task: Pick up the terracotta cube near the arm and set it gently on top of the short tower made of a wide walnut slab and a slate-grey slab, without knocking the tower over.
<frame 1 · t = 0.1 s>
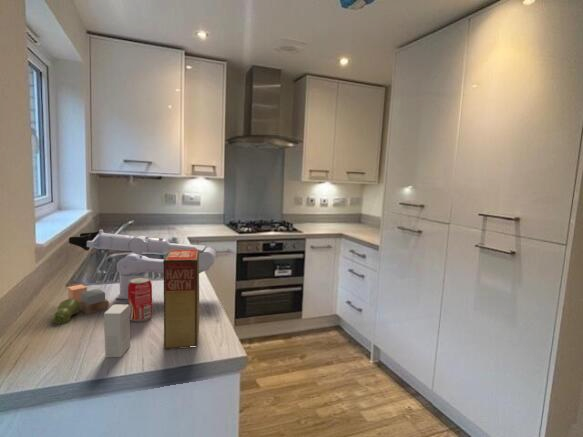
hand: (75, 238, 125), 22 cm above the worktop, tool horizontal, fingers open, 7 cm apart
walnut base: (93, 309, 118), on the worktop, touching slate block
soda can: (140, 318, 112), on the worktop
food packaging: (182, 337, 101), on the worktop
slate block: (93, 300, 117), point 2 cm above the worktop, touching walnut base
skincare box: (117, 352, 91), on the worktop
terracotta cube: (77, 299, 125), on the worktop
pear: (66, 318, 109), on the worktop
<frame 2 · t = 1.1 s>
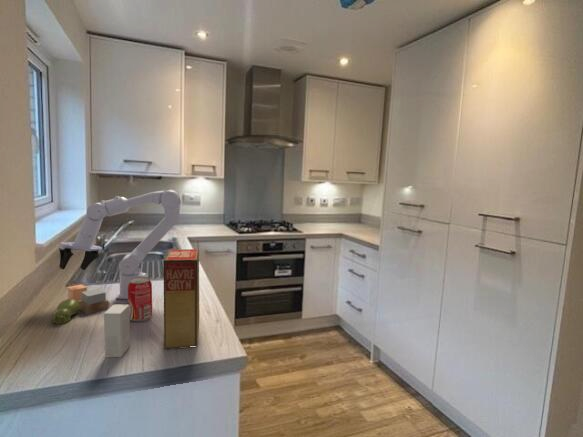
hand: (72, 268, 124), 11 cm above the worktop, tool tilted 20°, fingers open, 7 cm apart
walnut base: (93, 309, 118), on the worktop
slate block: (93, 300, 117), point 3 cm above the worktop
everything else where it was.
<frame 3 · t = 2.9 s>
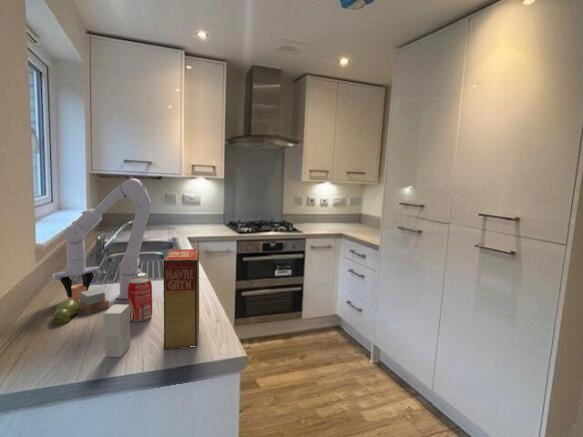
hand: (77, 295, 124), 1 cm above the worktop, tool pointing down, fingers closed on terracotta cube, 4 cm apart
walnut base: (93, 309, 118), on the worktop, touching slate block
slate block: (92, 300, 117), point 3 cm above the worktop, touching walnut base
terracotta cube: (77, 298, 125), on the worktop, touching gripper
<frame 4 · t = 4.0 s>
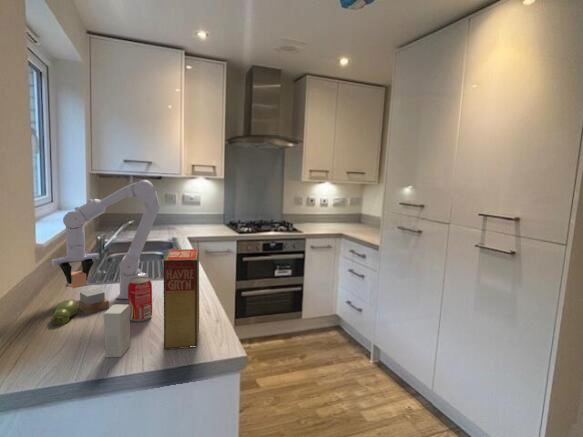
hand: (77, 281, 124), 7 cm above the worktop, tool pointing down, fingers closed on terracotta cube, 4 cm apart
terracotta cube: (77, 285, 124), point 5 cm above the worktop, touching gripper
everything else where it was.
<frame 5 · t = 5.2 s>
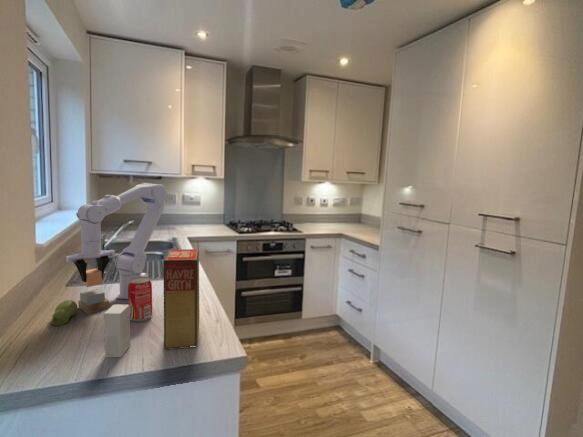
hand: (92, 279, 116), 10 cm above the worktop, tool pointing down, fingers closed on terracotta cube, 4 cm apart
walnut base: (93, 308, 118), on the worktop
slate block: (92, 301, 117), point 3 cm above the worktop
terracotta cube: (92, 283, 117), point 8 cm above the worktop, touching gripper
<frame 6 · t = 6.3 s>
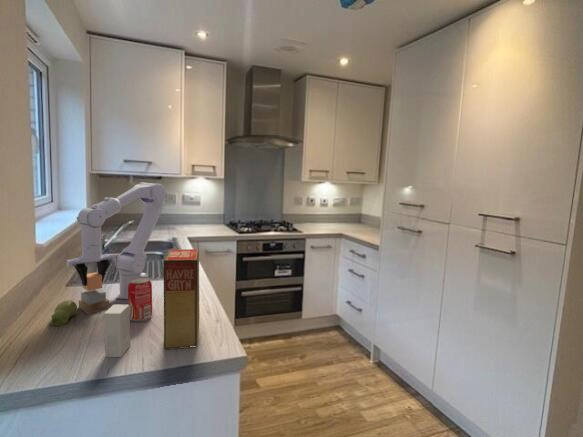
hand: (92, 283, 117), 9 cm above the worktop, tool pointing down, fingers closed on terracotta cube, 4 cm apart
terracotta cube: (92, 287, 117), point 7 cm above the worktop, touching gripper
when the fingers open (9 cm above the worktop, at t = 6.4 s): terracotta cube drops 1 cm, resting on slate block.
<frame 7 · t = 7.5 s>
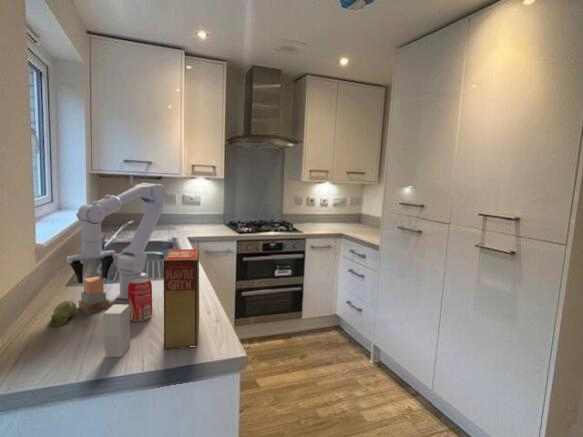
hand: (92, 280, 116), 10 cm above the worktop, tool pointing down, fingers open, 7 cm apart
walnut base: (94, 308, 118), on the worktop, touching slate block
slate block: (93, 300, 117), point 3 cm above the worktop, touching terracotta cube, walnut base
terracotta cube: (93, 291, 117), point 6 cm above the worktop, touching slate block
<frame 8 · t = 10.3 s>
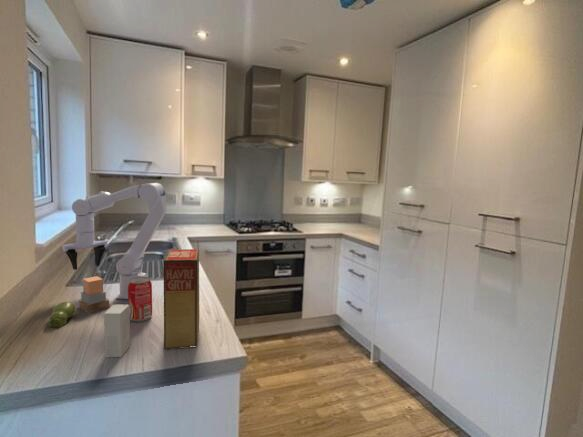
hand: (86, 267, 128), 10 cm above the worktop, tool pointing down, fingers open, 7 cm apart
at the end: terracotta cube 0.4 cm off-centre on the slate block, point 3.0 cm above the slate block's base; slate block 0.6 cm off-centre on the walnut base, point 3.0 cm above the walnut base's base; walnut base moved 0.8 cm from its start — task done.
